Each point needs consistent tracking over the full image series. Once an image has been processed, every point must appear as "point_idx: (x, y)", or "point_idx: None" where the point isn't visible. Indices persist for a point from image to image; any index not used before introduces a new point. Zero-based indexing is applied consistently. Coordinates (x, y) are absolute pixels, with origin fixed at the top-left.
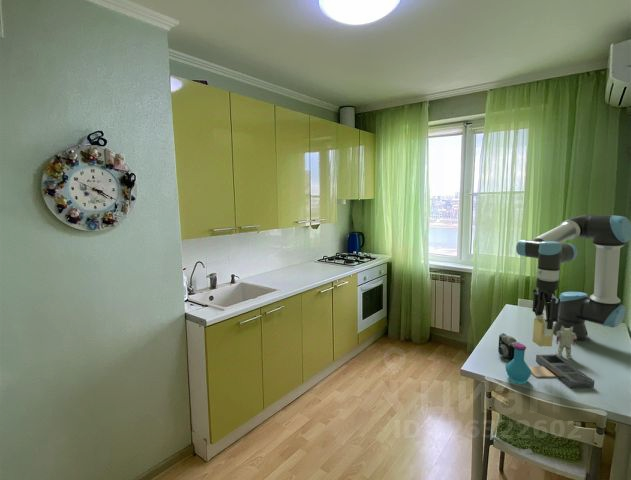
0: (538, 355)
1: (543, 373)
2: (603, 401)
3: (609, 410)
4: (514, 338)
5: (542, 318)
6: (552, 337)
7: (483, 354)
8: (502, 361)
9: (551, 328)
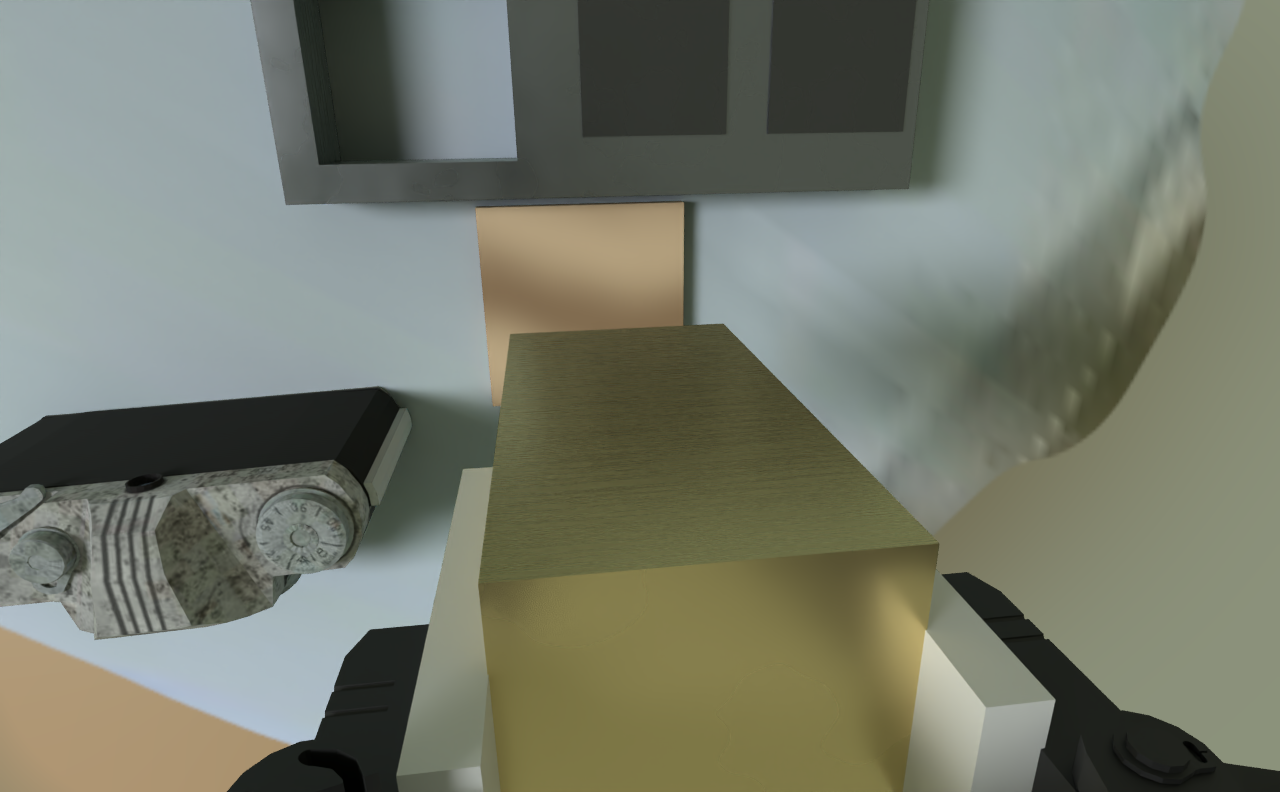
0: (308, 190)
1: (630, 297)
2: (1092, 23)
3: (1197, 79)
4: (147, 532)
5: (488, 711)
6: (774, 380)
7: (228, 663)
8: (368, 549)
9: (994, 613)
